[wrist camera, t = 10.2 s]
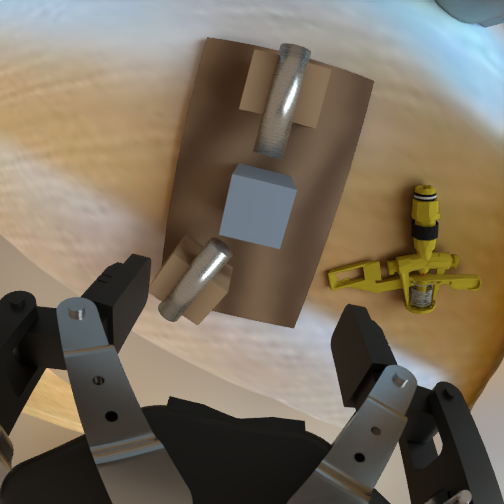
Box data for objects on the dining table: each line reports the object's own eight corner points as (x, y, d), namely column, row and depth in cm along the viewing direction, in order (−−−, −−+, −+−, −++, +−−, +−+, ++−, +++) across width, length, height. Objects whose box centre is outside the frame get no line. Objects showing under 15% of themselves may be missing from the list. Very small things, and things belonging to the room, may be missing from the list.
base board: (370, 82, 26) (394, 75, 20) (293, 323, 37) (297, 356, 31) (208, 39, 25) (196, 22, 19) (160, 292, 36) (144, 322, 30)
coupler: (290, 176, 29) (297, 190, 24) (277, 225, 31) (279, 249, 26) (238, 163, 29) (232, 174, 23) (227, 213, 31) (218, 234, 25)
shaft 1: (233, 249, 29) (231, 261, 26) (181, 312, 32) (175, 325, 30) (212, 233, 28) (208, 244, 26) (162, 298, 31) (155, 311, 29)
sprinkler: (496, 188, 25) (481, 312, 30) (480, 181, 28) (469, 295, 34) (320, 198, 29) (330, 329, 35) (319, 190, 33) (329, 310, 38)
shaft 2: (308, 55, 22) (313, 49, 19) (282, 156, 25) (283, 160, 23) (280, 48, 21) (281, 41, 19) (253, 149, 25) (252, 152, 23)
